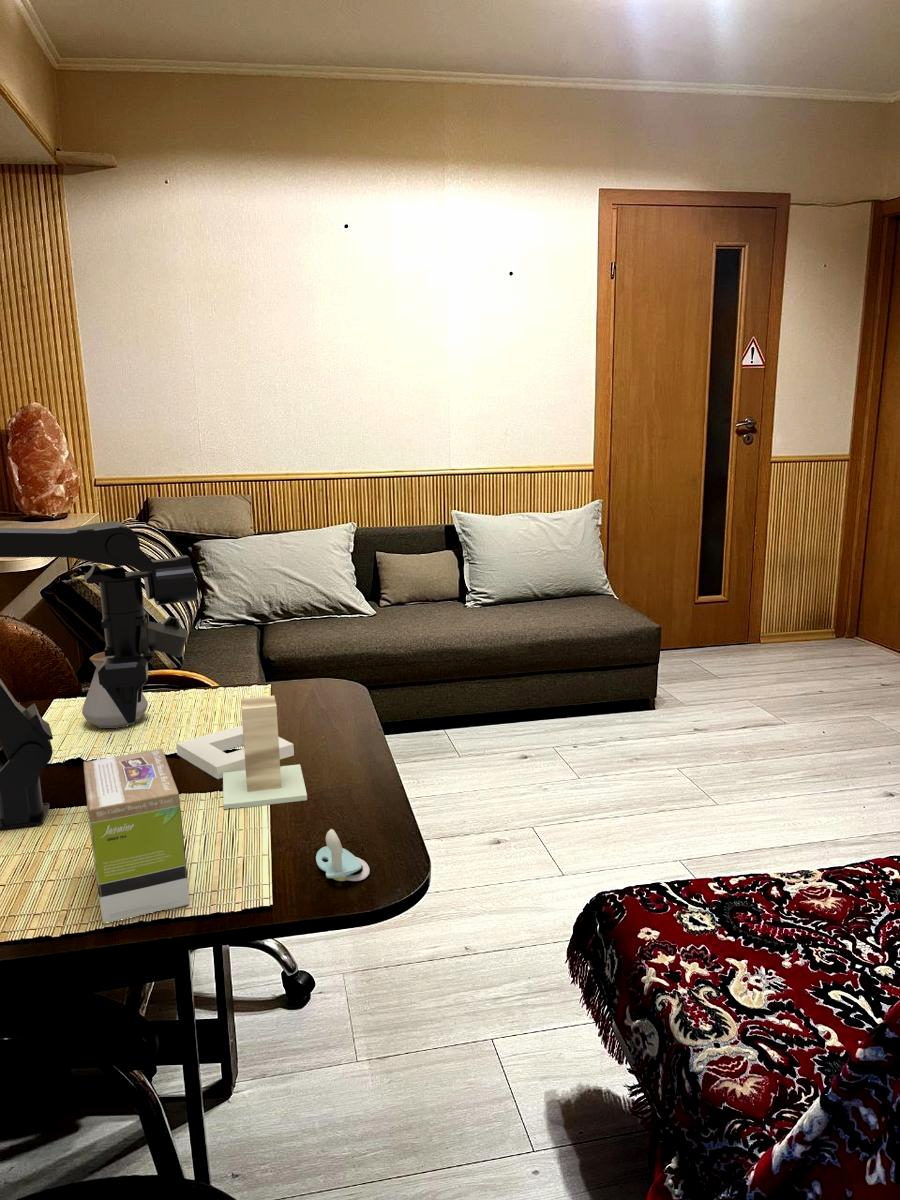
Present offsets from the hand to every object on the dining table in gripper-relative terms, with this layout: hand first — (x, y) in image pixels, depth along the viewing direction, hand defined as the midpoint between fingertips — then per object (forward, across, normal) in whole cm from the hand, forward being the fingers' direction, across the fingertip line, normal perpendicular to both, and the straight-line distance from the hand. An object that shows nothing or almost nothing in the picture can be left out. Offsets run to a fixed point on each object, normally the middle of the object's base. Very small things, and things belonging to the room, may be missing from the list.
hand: (134, 712), depth 135 cm
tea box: (+13, -28, -2) cm, 31 cm away
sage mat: (+13, -3, -18) cm, 22 cm away
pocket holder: (+13, +12, -14) cm, 22 cm away
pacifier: (+14, -32, -26) cm, 43 cm away
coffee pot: (+13, +30, +6) cm, 33 cm away
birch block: (+12, -3, -18) cm, 22 cm away
